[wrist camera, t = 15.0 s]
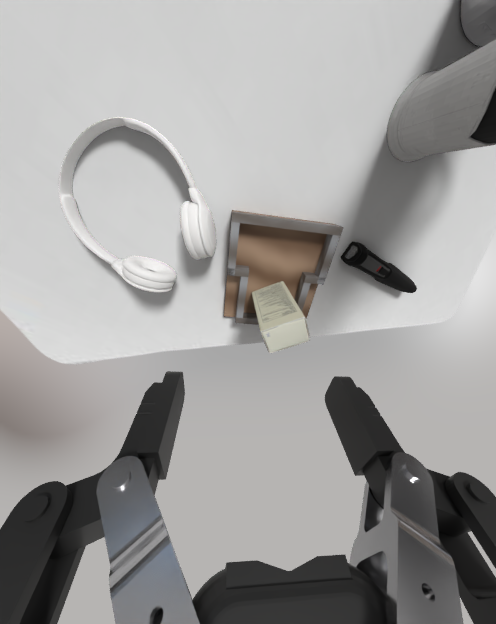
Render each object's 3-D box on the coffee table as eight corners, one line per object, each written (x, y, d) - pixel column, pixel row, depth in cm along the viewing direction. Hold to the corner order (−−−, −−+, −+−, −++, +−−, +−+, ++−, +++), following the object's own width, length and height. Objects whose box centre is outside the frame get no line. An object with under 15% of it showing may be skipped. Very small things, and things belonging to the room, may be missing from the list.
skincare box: (258, 310, 39) (267, 355, 29) (250, 291, 37) (257, 332, 26) (290, 299, 38) (311, 342, 28) (285, 279, 36) (306, 317, 26)
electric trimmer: (396, 292, 41) (407, 300, 38) (338, 258, 36) (346, 264, 33) (411, 276, 39) (424, 283, 36) (352, 238, 34) (363, 243, 32)
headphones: (235, 238, 26) (105, 58, 19) (139, 315, 31) (12, 192, 24) (239, 234, 32) (143, 99, 26) (160, 298, 37) (63, 198, 31)
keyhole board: (232, 210, 31) (232, 212, 28) (334, 224, 33) (343, 227, 30) (224, 313, 40) (223, 322, 38) (303, 319, 42) (308, 328, 40)
